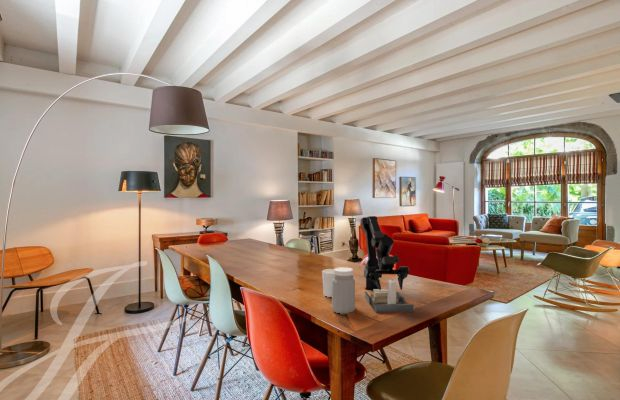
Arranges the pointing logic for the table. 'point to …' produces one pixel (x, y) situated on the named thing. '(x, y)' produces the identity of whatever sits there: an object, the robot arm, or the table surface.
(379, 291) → the offcut stack
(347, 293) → the jar
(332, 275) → the white cylinder
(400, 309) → the rack
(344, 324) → the table surface
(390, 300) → the cream rectangular block
